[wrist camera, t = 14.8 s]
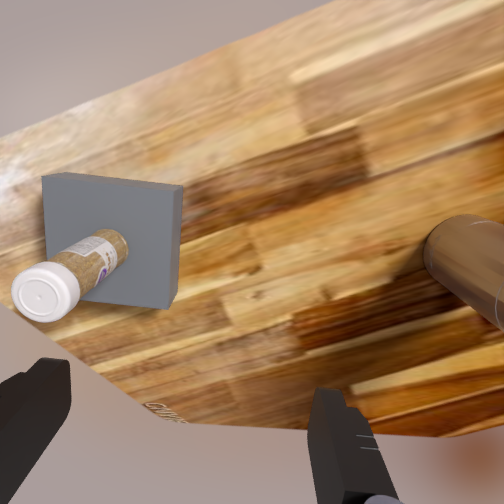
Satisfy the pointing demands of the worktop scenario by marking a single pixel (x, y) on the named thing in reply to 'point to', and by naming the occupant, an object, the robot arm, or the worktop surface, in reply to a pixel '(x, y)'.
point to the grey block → (124, 222)
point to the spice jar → (67, 276)
